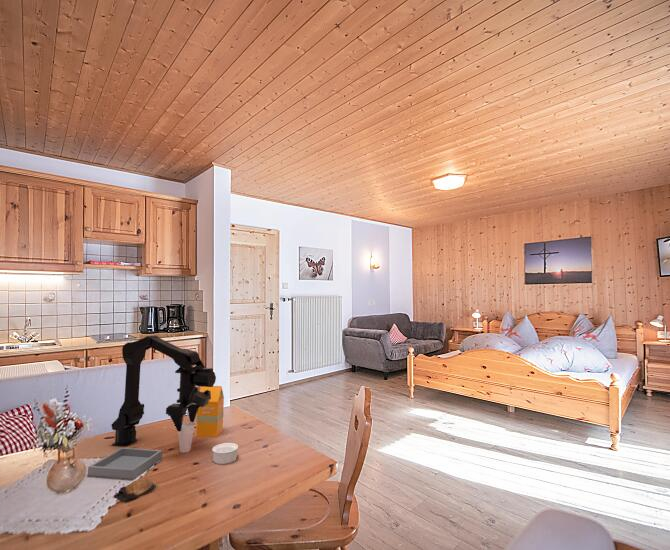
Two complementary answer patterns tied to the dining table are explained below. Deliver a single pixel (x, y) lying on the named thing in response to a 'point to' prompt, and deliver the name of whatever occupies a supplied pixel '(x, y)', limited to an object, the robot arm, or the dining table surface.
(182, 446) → the smoothie
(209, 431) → the orange juice
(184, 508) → the dining table surface
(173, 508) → the dining table surface
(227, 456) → the ramekin
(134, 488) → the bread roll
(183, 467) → the dining table surface
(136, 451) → the gray square tray
